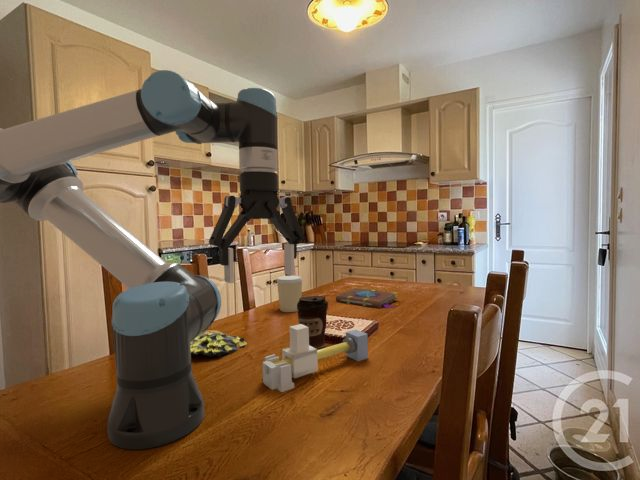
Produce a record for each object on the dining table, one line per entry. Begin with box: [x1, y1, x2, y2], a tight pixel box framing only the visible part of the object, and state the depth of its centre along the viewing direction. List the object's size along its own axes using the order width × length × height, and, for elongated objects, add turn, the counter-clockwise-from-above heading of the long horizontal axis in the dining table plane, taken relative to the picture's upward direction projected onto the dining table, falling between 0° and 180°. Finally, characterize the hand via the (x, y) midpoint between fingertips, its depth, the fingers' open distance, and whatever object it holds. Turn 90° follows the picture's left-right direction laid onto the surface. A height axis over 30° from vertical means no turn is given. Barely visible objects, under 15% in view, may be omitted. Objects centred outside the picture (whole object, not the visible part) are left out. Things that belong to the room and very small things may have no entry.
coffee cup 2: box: [297, 295, 329, 349], centre depth 97 cm, size 9×8×13 cm
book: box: [335, 286, 399, 309], centre depth 144 cm, size 16×25×5 cm, turn 52°
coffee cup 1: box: [276, 275, 303, 313], centre depth 135 cm, size 9×9×12 cm
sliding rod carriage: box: [281, 323, 319, 379], centre depth 79 cm, size 6×5×10 cm
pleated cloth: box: [190, 329, 248, 358], centre depth 99 cm, size 20×16×7 cm
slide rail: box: [262, 329, 369, 393], centre depth 82 cm, size 26×8×6 cm, turn 125°
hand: (261, 278), depth 74 cm, fingers open, 13 cm apart
